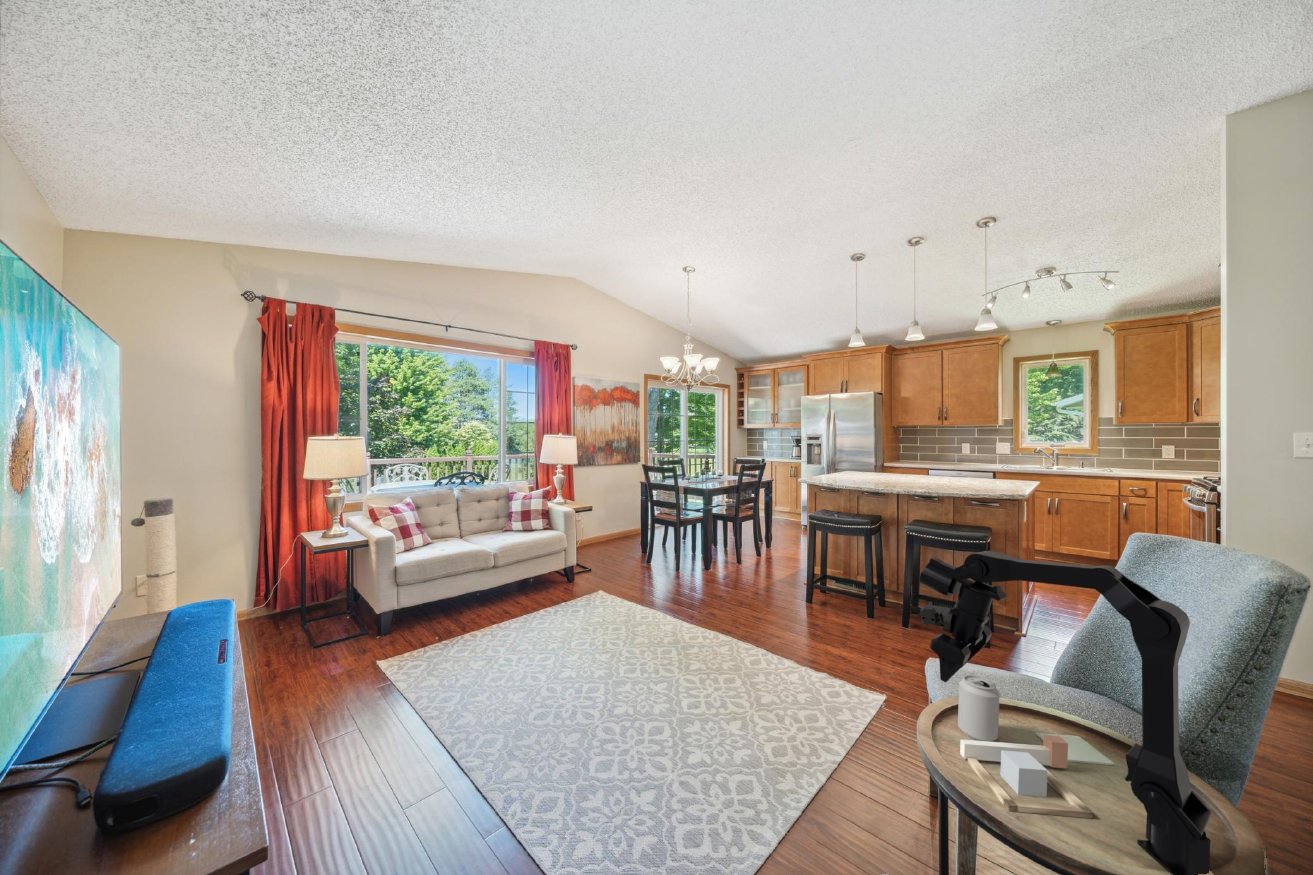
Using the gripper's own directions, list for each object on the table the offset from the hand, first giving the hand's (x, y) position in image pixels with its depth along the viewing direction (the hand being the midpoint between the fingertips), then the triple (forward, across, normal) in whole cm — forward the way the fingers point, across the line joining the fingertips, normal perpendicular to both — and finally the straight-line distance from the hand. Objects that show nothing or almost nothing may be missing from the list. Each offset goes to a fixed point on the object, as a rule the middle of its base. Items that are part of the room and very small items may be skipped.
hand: (950, 673), depth 102 cm
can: (+14, -9, +6) cm, 18 cm away
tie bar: (+12, -3, +13) cm, 19 cm away
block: (+12, +3, +17) cm, 21 cm away
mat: (+11, -20, +21) cm, 31 cm away
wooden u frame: (+12, +3, +16) cm, 20 cm away
